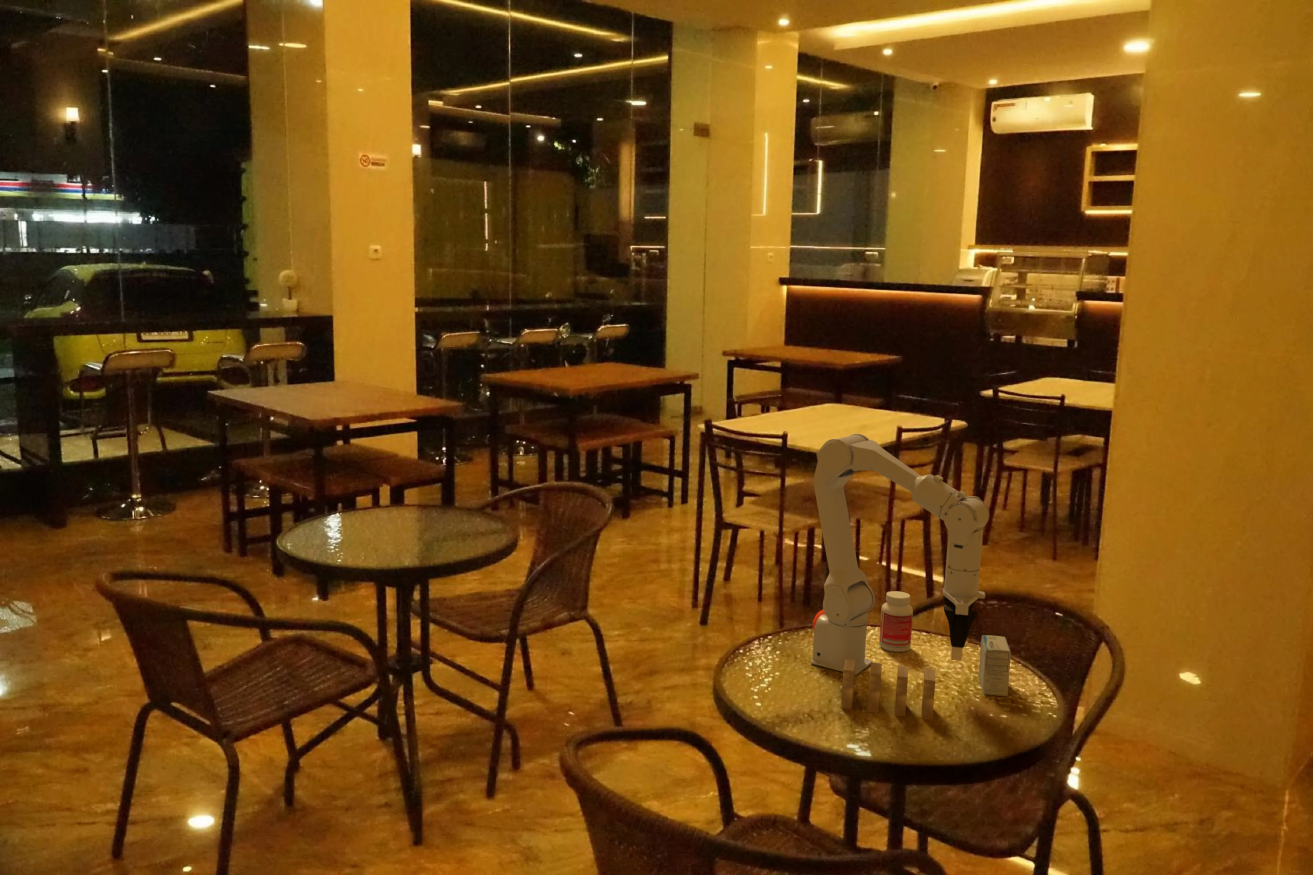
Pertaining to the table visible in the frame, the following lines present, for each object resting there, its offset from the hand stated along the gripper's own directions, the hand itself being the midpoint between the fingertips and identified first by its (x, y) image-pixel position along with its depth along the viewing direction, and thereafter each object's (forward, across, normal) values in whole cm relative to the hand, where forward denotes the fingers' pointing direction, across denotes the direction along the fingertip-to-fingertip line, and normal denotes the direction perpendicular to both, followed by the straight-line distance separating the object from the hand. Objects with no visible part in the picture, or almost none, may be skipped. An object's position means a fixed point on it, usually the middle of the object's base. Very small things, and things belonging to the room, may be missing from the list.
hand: (957, 641), depth 184 cm
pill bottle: (+11, +22, +11) cm, 27 cm away
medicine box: (+11, +7, -7) cm, 15 cm away
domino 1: (+10, -8, +18) cm, 22 cm away
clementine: (+11, +21, +24) cm, 34 cm away
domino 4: (+10, -8, +4) cm, 14 cm away
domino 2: (+10, -8, +14) cm, 19 cm away
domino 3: (+10, -8, +9) cm, 16 cm away
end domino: (+3, 0, 0) cm, 3 cm away
